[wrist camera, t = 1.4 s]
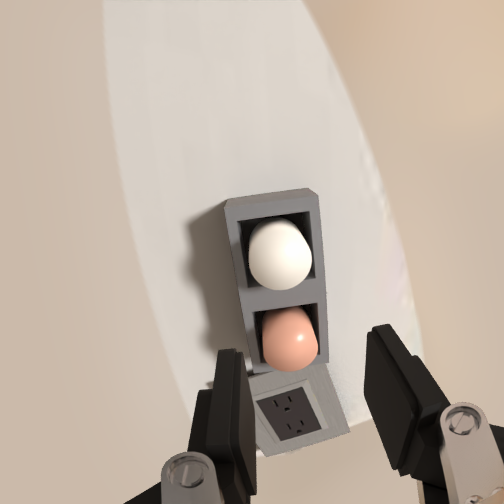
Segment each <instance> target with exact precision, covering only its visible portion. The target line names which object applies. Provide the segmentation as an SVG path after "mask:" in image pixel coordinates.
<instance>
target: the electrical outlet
mask: <svg viewBox="0 0 504 504" xmlns="http://www.w3.org/2000/svg"><path fill="white" fill-rule="evenodd" d="M248 380H249V385H250V390H251V395H252V399H253V404H254V409H255V427H256V444H257V445H258V447H259V448H260V450H261V451H262V452H263V454H264V455H265V456H266V457H268V456H273V455H277V454H281V453H284V452H288V451H292V450H296V449H299V448H303V447H306V446H309V445H313V444H316V443H319V442H322V441H325V440H328V439H331V438H334V437H337V436H340V435H343V434H346V433H349V432H350V430H349V427H348V424H347V421H346V418H345V415H344V413H343V410H342V407H341V404H340V402H339V399H338V396H337V393H336V391H335V388H334V385H333V383H332V380H331V377H330V375H329V372H328V369H327V367H326V364H325V363H323V364H317V365H311V366H306V367H305V368H303V369H300V370H297V371H292V372H284V371H279V370H277V371H270V372H263V373H259V374H256V375H253V376H250V377H248Z"/></svg>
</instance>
